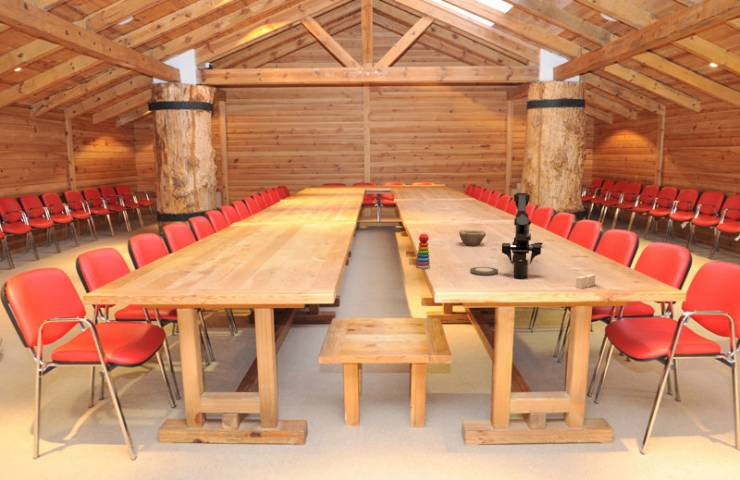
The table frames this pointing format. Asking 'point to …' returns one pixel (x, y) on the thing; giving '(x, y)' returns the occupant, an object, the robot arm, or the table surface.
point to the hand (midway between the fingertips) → (520, 262)
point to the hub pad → (484, 271)
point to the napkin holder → (585, 281)
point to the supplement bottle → (520, 266)
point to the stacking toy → (423, 253)
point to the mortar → (471, 237)
